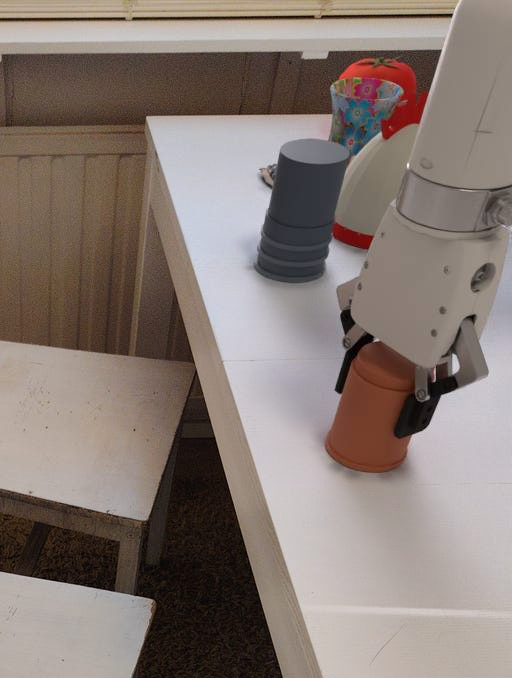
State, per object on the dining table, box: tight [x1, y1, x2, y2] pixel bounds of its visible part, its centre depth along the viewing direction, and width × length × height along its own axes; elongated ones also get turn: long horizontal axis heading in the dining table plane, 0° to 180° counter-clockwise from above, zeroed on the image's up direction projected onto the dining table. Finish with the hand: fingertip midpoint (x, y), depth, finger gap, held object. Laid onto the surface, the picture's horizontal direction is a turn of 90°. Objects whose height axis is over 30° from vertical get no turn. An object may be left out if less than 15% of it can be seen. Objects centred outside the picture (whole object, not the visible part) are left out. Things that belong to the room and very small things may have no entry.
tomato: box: [338, 54, 417, 127], centre depth 122 cm, size 12×12×10 cm
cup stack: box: [253, 138, 350, 284], centre depth 94 cm, size 8×8×13 cm
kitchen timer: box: [332, 90, 429, 250], centre depth 100 cm, size 14×14×15 cm
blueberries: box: [258, 163, 277, 188], centre depth 115 cm, size 7×8×2 cm
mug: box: [327, 78, 417, 169], centre depth 112 cm, size 12×9×11 cm
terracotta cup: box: [324, 340, 436, 473], centre depth 72 cm, size 7×7×9 cm
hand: (378, 409), depth 72 cm, fingers closed on terracotta cup, 6 cm apart
